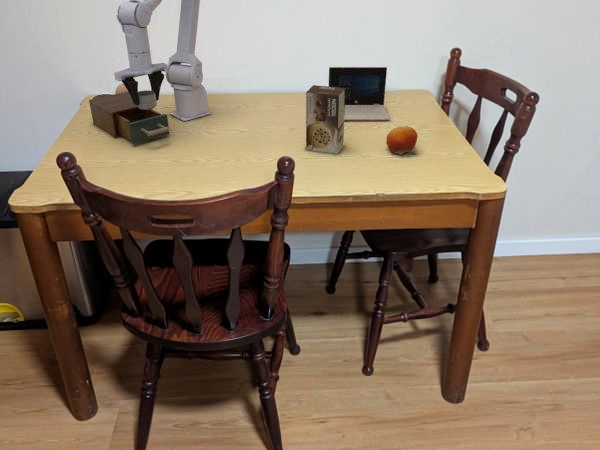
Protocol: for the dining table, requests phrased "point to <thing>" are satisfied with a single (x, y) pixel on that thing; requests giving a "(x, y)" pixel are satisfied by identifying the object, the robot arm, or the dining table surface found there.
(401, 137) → the fruit
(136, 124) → the drawer
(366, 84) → the laptop
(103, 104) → the cabinet
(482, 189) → the dining table surface
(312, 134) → the cookie box
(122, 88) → the egg
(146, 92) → the grey plastic pail
